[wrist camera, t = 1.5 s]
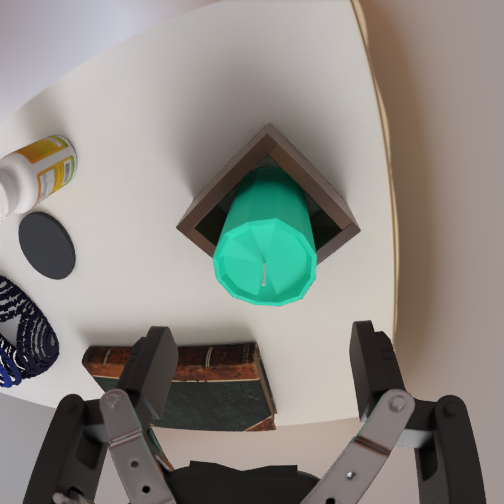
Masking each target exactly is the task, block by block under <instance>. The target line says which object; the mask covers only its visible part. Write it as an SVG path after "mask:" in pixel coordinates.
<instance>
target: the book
mask: <svg viewBox="0 0 504 504" xmlns="http://www.w3.org/2000/svg"><path fill="white" fill-rule="evenodd" d="M177 349H178V363H177V366H176V369H175V372H174V375H173V379H172V382H171V385H170V389H169V392H168V395H167V398H166V402H165V405H164V409H163V412H162V415H161V419H160V420H157V419H151V422H150V426H154V427H163V428H174V429H187V430H205V431H206V430H207V431H269V430H276V427H275V424H274V414H276V413H277V411H276V407H275V404H274V400H273V397H272V394H271V390H270V387H269V383H268V380H267V377H266V373H265V370H264V367H263V363H262V360H261V356H260V353H259V349H258V346H257V344H244V345H230V346H211V347H185V348H177ZM131 351H132V348H99V347H89V348H88V349H87V350H86V352H85V354H84V356H83V359H82V364H83V366H84V367H85V368H86V370H87V371H88V372H89V373H90V375H91V376H92V377H93V378H94V380H95V381H96V382H97V383H98V384H99V386H100V387H101V388H102V389H103V390H104V392H105V393H106V392H107V391H109V390H112V389H115V387H116V385H117V382H118V380H119V378H120V375H121V373H122V371H123V368H124V366H125V364H126V362H127V359H128V357H129V355H130V353H131Z"/></svg>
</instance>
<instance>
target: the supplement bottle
mask: <svg viewBox="0 0 504 504" xmlns="http://www.w3.org/2000/svg"><path fill="white" fill-rule="evenodd" d="M76 166H77V160H76V154H75V151H74V149H73V147H72V146H71V144H70V143H69V142H68V141H67V140H66V139H65V138H63V137H61V136H56V135H55V136H50V137H47V138H44V139H42V140H39V141H37V142H35V143H32V144H30V145H28V146H25V147H23V148H21V149H19V150H16V151H14V152H12V153H10V154H8V155H6V156H5V157H3V158H2V159H1V160H0V220H3V219H4V218H6V217H7V216H9V215H10V214H12V213H16V214H21V213H25V212H27V211H28V210H30V209H31V208H33V207H34V206H35V205H37V204H38V203H40V202H41V201H42V200H44V199H45V198H47V197H48V196H50V195H51V194H53V193H54V192H55V191H57V190H58V189H60V188H61V187H63V186H64V185H66V184H67V183H69V182H70V181H71V179H72V178H73V176H74V174H75V171H76Z"/></svg>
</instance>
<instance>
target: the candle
mask: <svg viewBox="0 0 504 504" xmlns="http://www.w3.org/2000/svg"><path fill="white" fill-rule="evenodd" d="M213 263H214V269H215V274H216V279H217V280H218V282H219V283H220V284H221V285H222V286H223V287H224V288H225V289H226V290H227V292H228V293H229V294H230V295H231V296H232V297H234V298H237V299H240V300H243V301H246V302H248V303H251V304H254V305H268V306H282V305H285V304H288V303H291V302H294V301H297V300H300V299H302V298H303V297H304V295H305V294H306V292H307V291H308V289H309V288H310V286H311V285H312V283H313V282H314V280H315V279H316V264H317V254H316V249H315V244H314V239H313V233H312V228H311V224H310V219H309V214H308V209H307V204H306V200H305V195H304V191H303V189H302V188H301V187H300V186H299V185H298V184H297V183H296V182H295V181H294V180H293V179H292V178H291V177H290V176H289V175H288V174H287V173H286V172H285V171H284V170H282V169H280V168H278V167H271V168H258V169H256V170H254V171H253V172H251V173H250V174H248V175H246V176H245V177H244V178H243V179H242V181H241V183H240V185H239V187H238V189H237V191H236V193H235V195H234V198H233V201H232V204H231V207H230V209H229V212H228V215H227V218H226V221H225V224H224V226H223V229H222V232H221V235H220V238H219V241H218V244H217V246H216V249H215V252H214V255H213Z"/></svg>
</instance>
